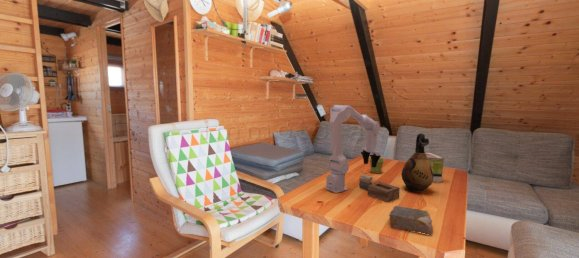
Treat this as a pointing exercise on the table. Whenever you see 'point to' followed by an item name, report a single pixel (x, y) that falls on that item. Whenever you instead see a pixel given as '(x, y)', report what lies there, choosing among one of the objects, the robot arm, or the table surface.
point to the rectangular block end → (365, 181)
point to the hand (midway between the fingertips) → (369, 165)
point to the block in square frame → (383, 191)
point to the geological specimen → (411, 219)
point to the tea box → (436, 166)
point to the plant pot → (377, 166)
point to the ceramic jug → (418, 168)
